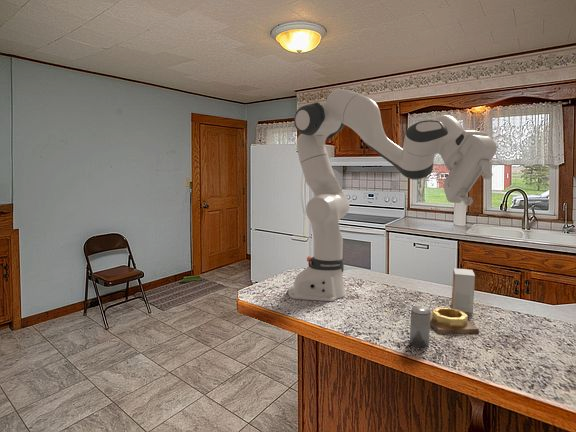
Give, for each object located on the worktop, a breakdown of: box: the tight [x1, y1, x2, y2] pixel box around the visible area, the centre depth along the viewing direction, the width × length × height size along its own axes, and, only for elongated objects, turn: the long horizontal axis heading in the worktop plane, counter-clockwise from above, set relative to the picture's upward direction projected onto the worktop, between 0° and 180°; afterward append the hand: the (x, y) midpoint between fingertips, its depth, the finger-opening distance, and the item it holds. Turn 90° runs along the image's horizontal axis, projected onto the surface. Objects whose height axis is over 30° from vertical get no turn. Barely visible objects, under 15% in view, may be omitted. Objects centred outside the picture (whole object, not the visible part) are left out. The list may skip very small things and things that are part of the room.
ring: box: [431, 307, 468, 327], centre depth 111 cm, size 9×9×2 cm
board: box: [430, 313, 480, 334], centre depth 112 cm, size 12×12×1 cm
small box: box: [451, 267, 476, 314], centre depth 125 cm, size 8×6×13 cm
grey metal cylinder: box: [409, 305, 432, 348], centre depth 99 cm, size 5×5×10 cm
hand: (478, 190), depth 93 cm, fingers open, 8 cm apart
